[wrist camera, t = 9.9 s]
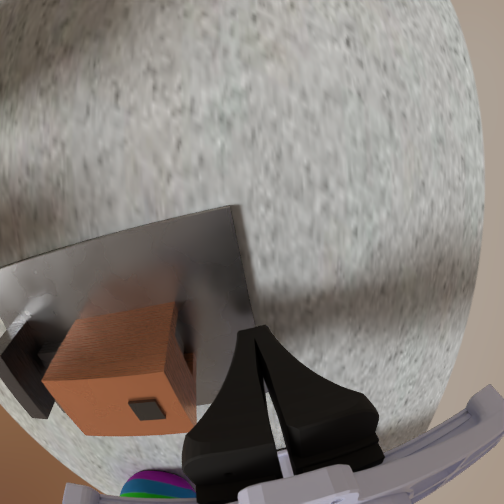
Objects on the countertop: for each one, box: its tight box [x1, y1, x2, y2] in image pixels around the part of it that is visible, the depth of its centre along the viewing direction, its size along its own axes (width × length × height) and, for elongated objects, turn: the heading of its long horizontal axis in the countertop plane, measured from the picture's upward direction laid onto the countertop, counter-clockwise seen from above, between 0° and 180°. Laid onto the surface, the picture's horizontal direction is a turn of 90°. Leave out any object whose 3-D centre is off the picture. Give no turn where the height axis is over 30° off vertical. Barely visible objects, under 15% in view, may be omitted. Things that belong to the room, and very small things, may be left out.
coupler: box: [0, 205, 268, 419], centre depth 13 cm, size 12×16×4 cm
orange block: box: [41, 301, 197, 436], centre depth 12 cm, size 4×6×5 cm, turn 100°
